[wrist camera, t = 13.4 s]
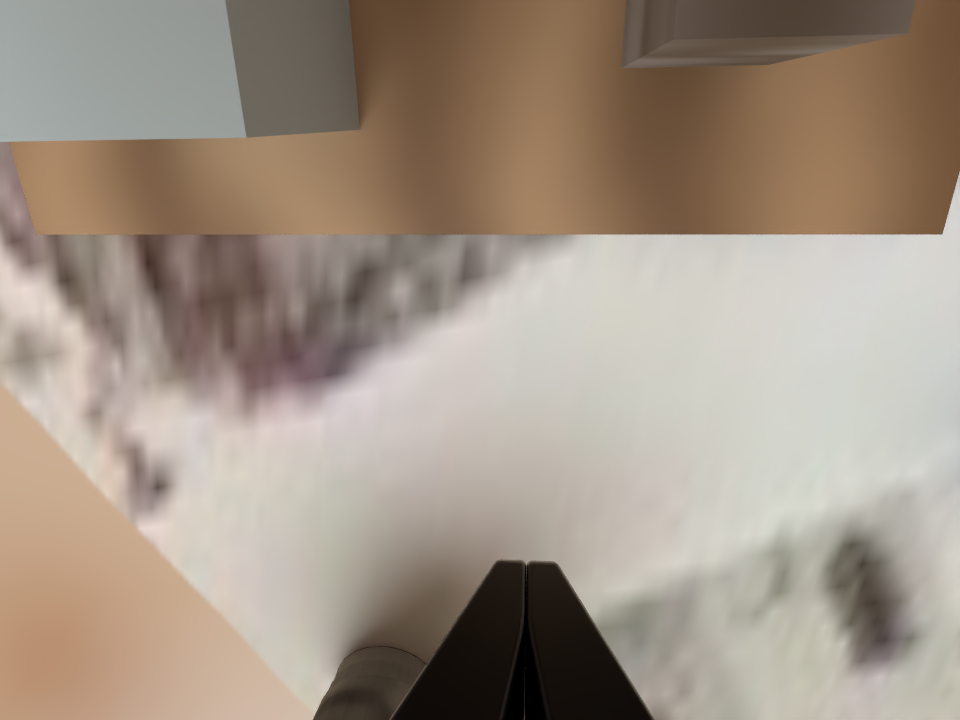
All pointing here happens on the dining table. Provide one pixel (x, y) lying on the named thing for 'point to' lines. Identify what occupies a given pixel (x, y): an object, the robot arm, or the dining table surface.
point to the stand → (570, 129)
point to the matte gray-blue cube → (175, 69)
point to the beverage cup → (370, 685)
